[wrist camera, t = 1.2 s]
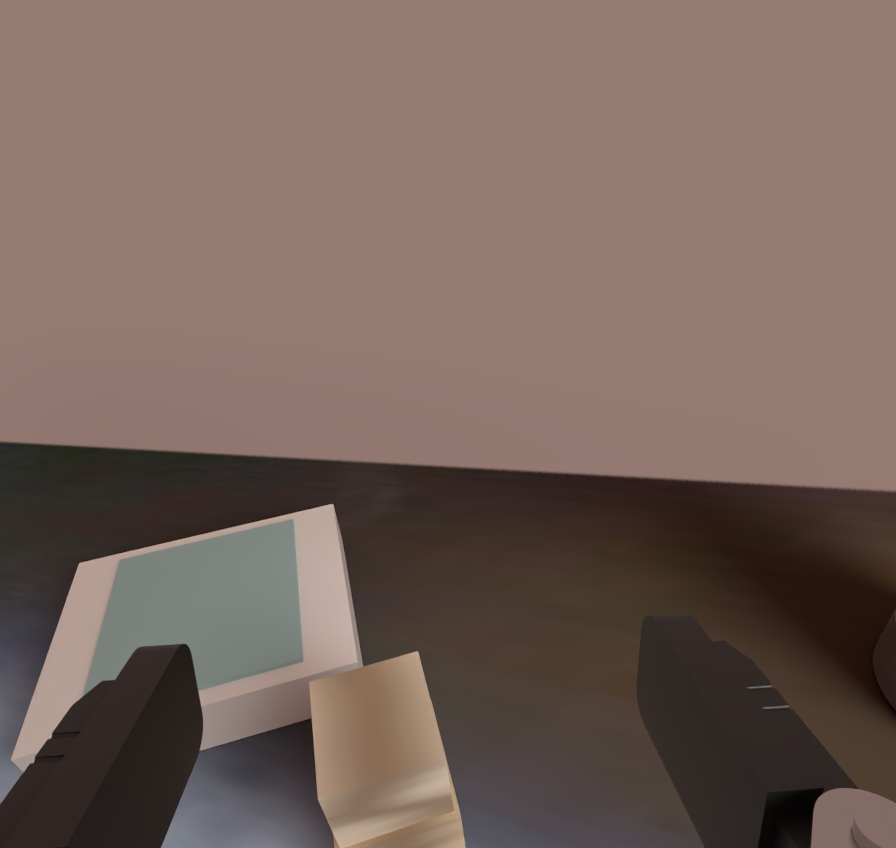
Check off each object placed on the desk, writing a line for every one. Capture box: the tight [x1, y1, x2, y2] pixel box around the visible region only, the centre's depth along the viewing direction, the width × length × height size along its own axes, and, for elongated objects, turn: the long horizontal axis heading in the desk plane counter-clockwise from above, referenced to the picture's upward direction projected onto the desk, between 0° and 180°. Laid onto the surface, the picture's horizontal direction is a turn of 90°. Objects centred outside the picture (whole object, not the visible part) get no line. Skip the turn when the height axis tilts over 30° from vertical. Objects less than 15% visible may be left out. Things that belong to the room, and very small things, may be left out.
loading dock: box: [11, 504, 363, 772], centre depth 38 cm, size 18×14×4 cm
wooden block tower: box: [309, 651, 466, 848], centre depth 25 cm, size 5×5×12 cm
